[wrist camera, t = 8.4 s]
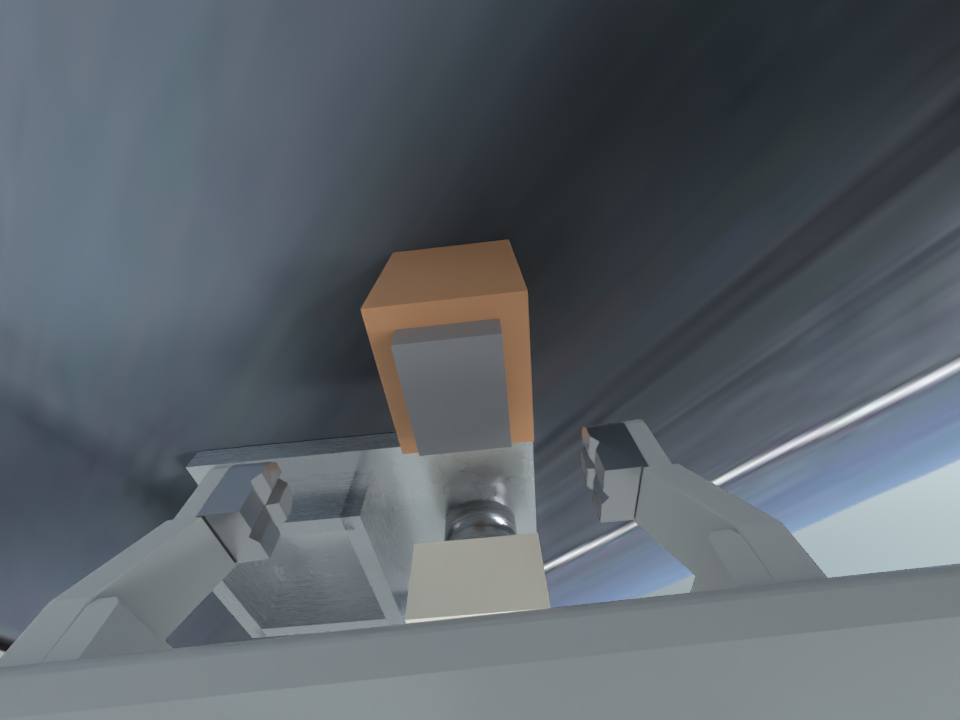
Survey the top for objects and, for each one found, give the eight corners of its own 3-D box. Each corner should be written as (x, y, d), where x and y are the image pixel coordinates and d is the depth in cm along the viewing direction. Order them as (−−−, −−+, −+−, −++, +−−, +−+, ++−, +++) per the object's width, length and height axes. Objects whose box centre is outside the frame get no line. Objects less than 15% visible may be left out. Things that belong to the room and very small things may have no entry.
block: (508, 239, 16) (532, 304, 10) (516, 358, 20) (538, 460, 14) (392, 252, 17) (351, 324, 11) (419, 368, 20) (398, 474, 14)
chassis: (529, 419, 22) (581, 669, 12) (535, 563, 29) (571, 792, 19) (198, 451, 22) (-20, 715, 12) (286, 584, 29) (194, 818, 19)
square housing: (537, 532, 20) (550, 607, 17) (540, 598, 23) (551, 671, 20) (414, 543, 20) (404, 619, 17) (434, 607, 23) (429, 680, 20)
